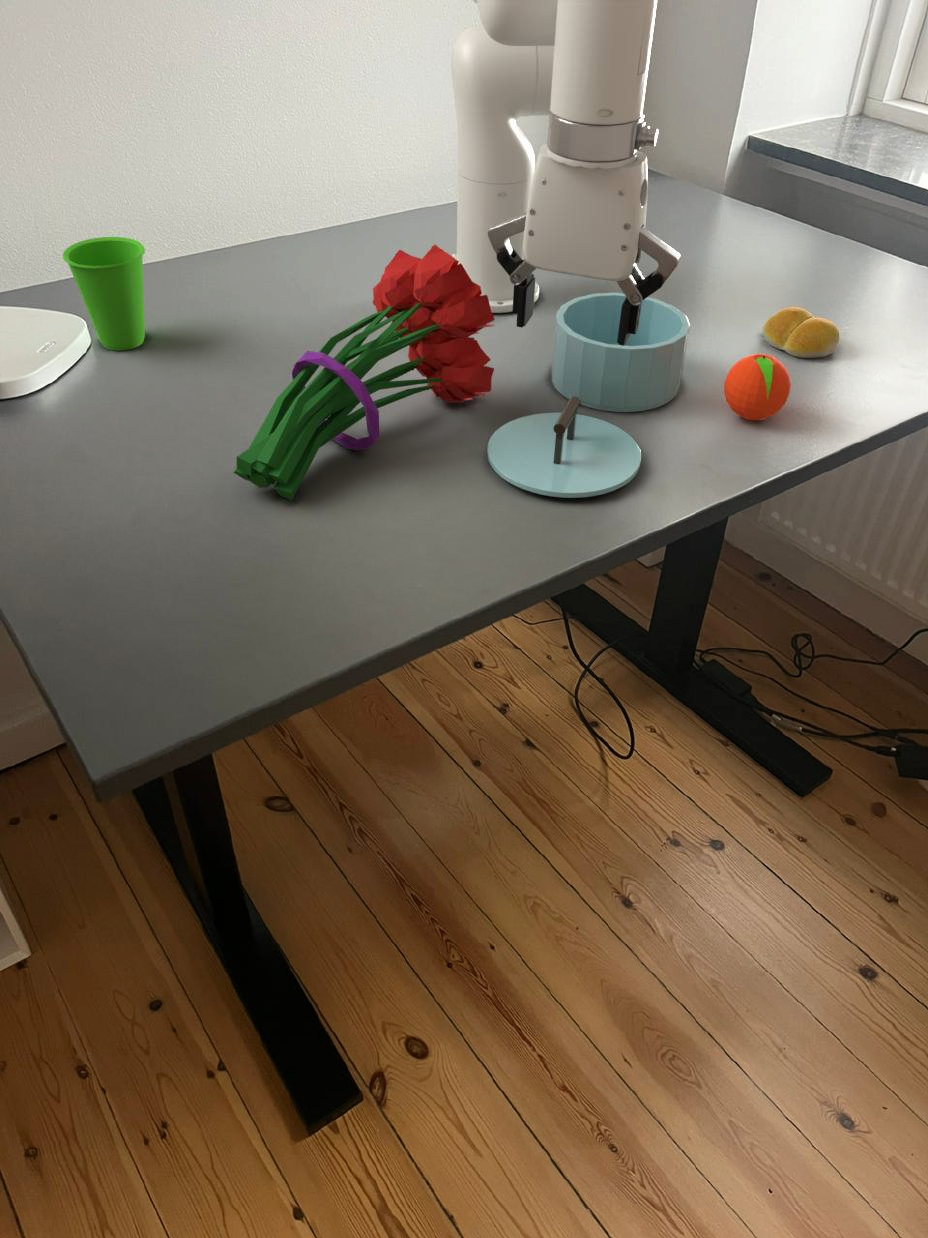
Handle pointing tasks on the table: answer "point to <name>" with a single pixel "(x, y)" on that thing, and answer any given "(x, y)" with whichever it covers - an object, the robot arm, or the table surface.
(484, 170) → the robot arm
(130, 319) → the cup
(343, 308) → the table surface
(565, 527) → the table surface
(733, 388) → the clementine
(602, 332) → the pot
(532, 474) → the lid
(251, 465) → the bouquet
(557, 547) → the table surface
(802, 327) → the bread roll
